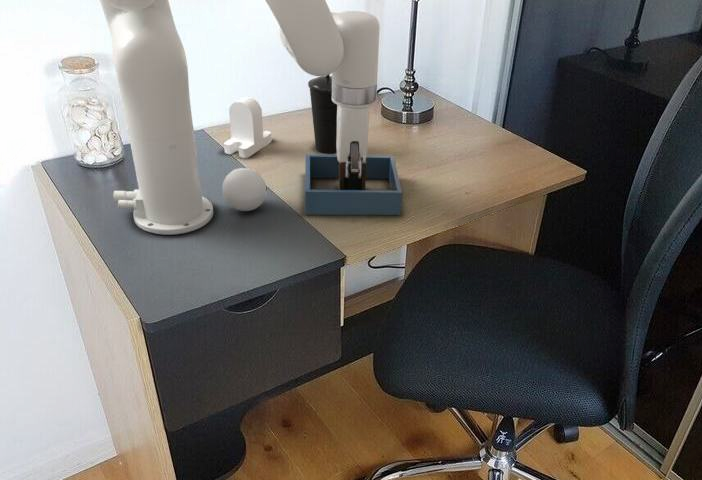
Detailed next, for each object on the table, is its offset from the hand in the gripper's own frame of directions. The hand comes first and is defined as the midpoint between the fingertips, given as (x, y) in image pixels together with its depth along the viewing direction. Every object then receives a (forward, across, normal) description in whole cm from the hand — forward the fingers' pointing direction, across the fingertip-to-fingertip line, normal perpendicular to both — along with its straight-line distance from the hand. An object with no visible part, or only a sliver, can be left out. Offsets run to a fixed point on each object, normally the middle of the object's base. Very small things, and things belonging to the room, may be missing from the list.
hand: (351, 188), depth 119 cm
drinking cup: (+2, -20, -4) cm, 20 cm away
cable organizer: (+2, -20, -20) cm, 28 cm away
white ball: (+2, +4, -19) cm, 19 cm away
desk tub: (+1, 0, 0) cm, 1 cm away
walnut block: (+1, 0, 0) cm, 1 cm away
